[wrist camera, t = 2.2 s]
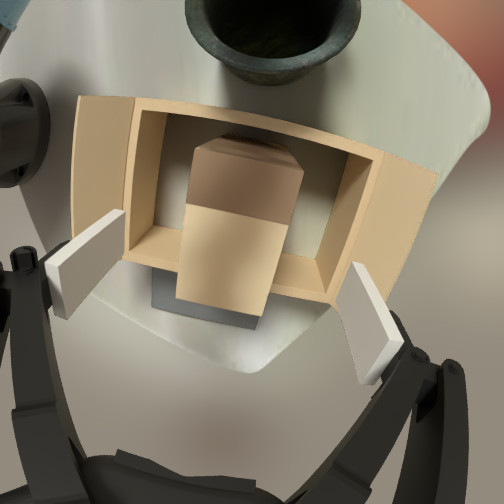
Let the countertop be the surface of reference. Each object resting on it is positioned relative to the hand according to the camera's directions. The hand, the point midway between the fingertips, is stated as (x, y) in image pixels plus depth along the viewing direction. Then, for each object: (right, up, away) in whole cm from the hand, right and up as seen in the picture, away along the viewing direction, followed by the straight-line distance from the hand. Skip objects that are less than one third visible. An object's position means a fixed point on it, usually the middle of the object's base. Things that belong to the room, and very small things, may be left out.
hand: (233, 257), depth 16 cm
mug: (+4, +22, +7) cm, 23 cm away
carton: (0, +7, +14) cm, 16 cm away
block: (0, +7, +14) cm, 16 cm away
